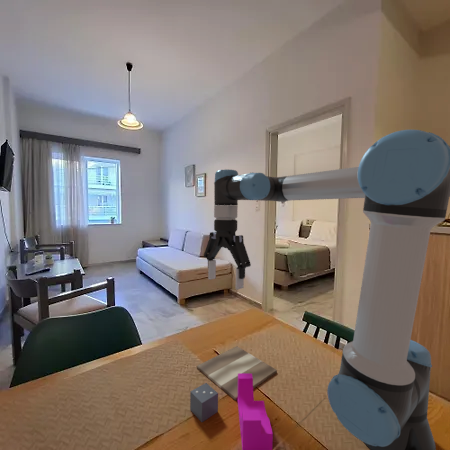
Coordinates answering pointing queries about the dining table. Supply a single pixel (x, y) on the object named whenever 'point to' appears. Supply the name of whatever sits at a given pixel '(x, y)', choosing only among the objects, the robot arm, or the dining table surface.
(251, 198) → the robot arm
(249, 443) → the toy block
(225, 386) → the board
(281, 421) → the dining table surface
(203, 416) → the die
